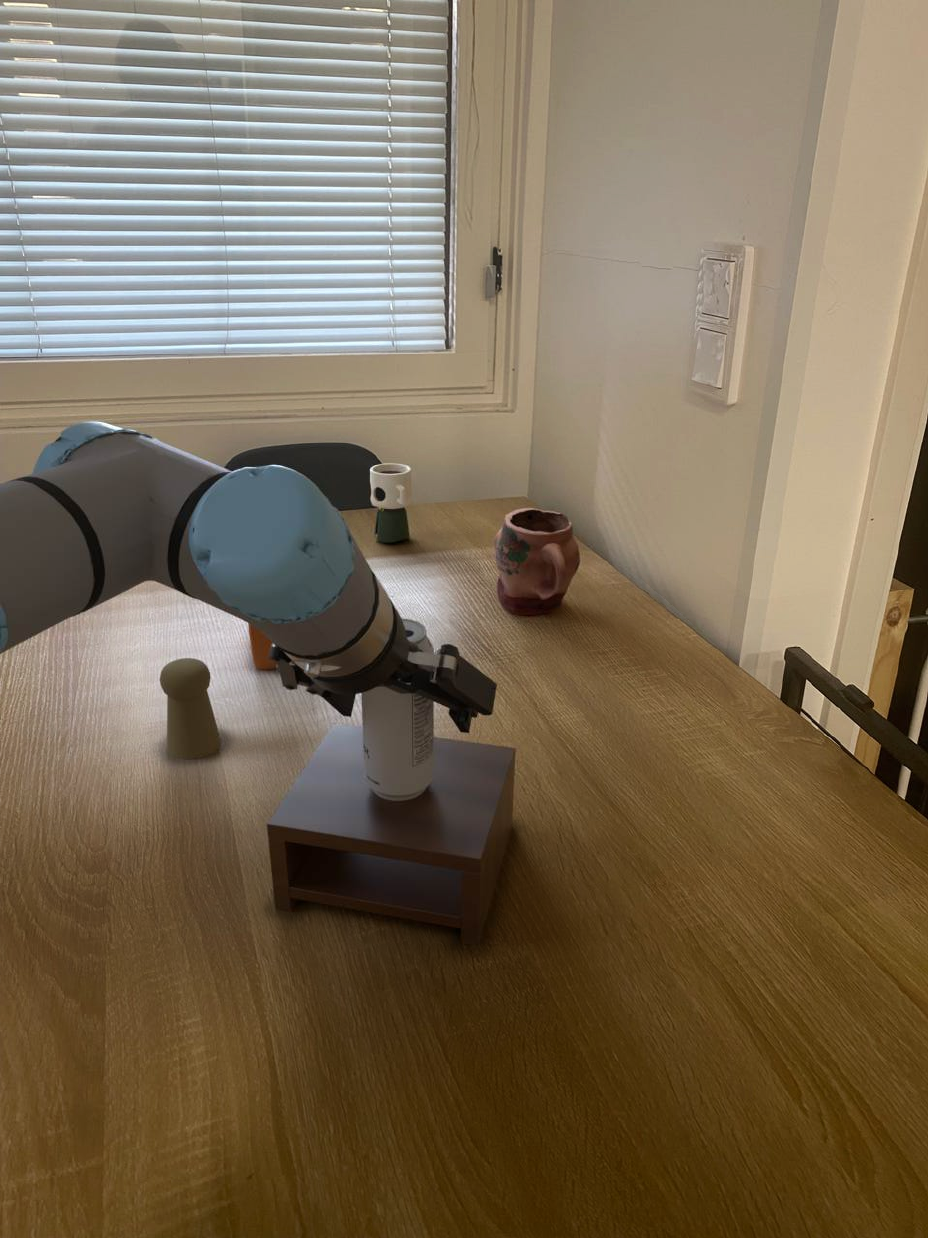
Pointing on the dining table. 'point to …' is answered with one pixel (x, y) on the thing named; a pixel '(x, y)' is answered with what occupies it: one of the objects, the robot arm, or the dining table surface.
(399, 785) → the energy drink can
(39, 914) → the dining table surface
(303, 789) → the shelf
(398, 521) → the character mug
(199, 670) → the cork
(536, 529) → the pink ceramic mug
